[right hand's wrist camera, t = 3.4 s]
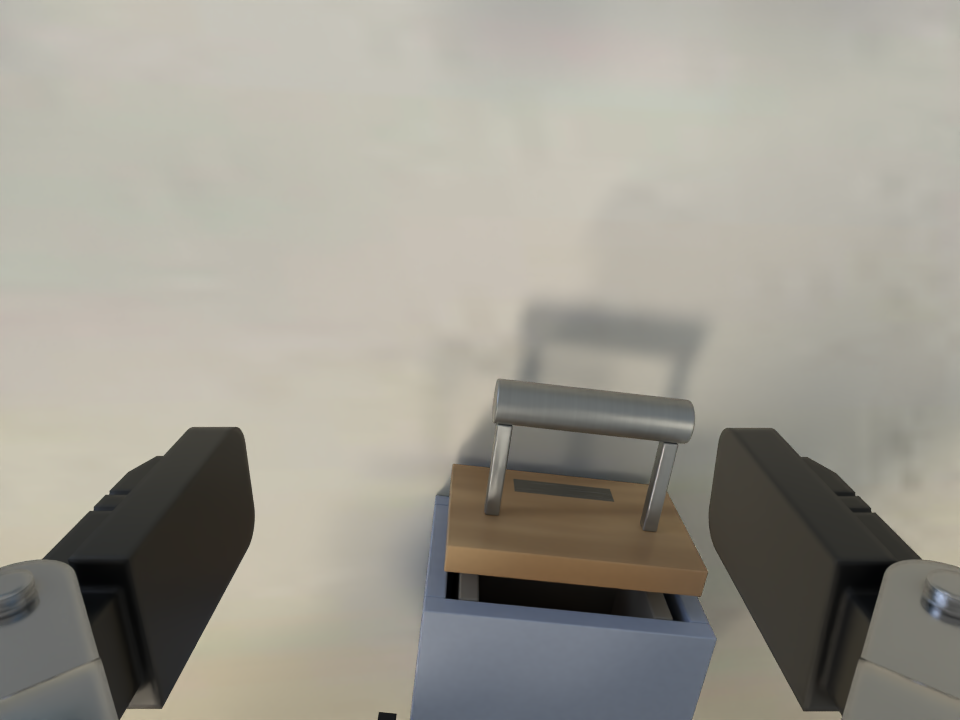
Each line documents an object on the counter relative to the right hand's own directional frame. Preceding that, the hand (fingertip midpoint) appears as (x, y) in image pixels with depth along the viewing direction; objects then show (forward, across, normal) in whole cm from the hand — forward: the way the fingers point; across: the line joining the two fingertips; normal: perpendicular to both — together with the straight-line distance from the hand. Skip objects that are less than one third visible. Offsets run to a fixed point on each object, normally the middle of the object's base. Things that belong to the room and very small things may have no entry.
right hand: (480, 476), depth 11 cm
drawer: (+17, -3, +13) cm, 22 cm away
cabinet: (+18, -3, +19) cm, 26 cm away
